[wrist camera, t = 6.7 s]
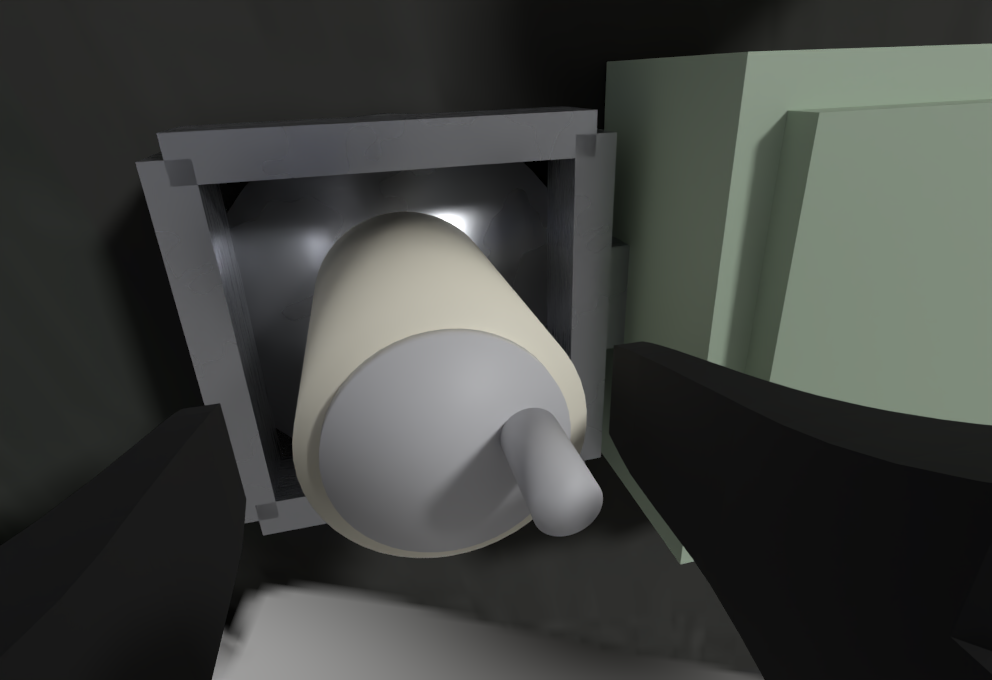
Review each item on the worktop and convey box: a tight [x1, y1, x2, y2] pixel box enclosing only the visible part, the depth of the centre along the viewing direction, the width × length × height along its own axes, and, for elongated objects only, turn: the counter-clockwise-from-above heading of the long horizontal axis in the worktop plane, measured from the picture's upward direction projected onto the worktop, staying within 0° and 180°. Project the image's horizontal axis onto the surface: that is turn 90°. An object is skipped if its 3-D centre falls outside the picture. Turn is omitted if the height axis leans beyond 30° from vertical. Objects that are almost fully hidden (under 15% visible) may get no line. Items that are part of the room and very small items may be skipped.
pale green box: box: [601, 44, 992, 564], centre depth 16 cm, size 10×13×7 cm
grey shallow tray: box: [135, 106, 630, 535], centre depth 16 cm, size 12×10×3 cm
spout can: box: [292, 211, 603, 558], centre depth 12 cm, size 5×5×9 cm
